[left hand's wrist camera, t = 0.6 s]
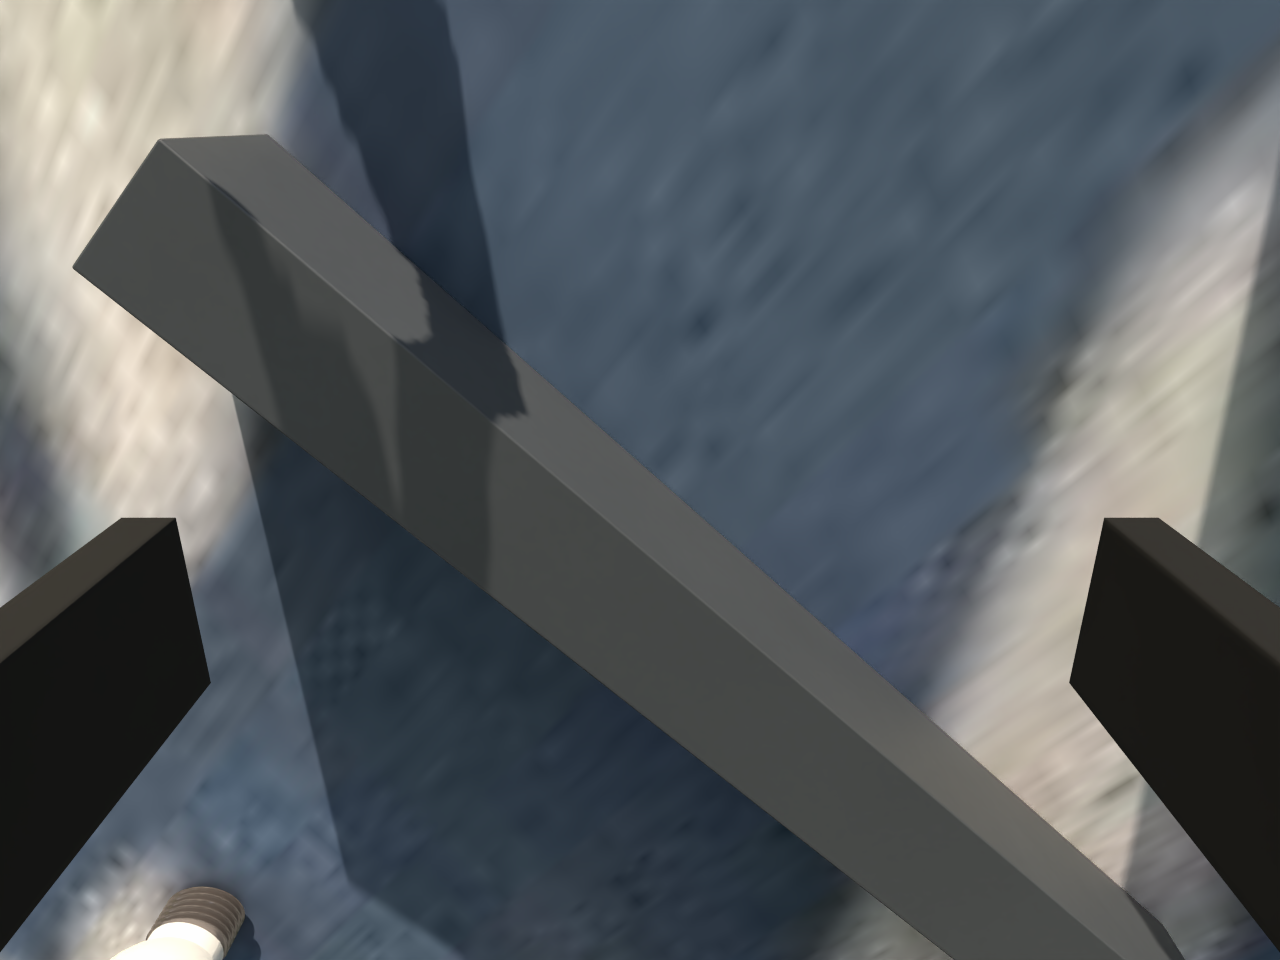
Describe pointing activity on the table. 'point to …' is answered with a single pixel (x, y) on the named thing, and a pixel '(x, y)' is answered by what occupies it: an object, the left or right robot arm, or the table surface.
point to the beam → (586, 545)
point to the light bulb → (191, 927)
